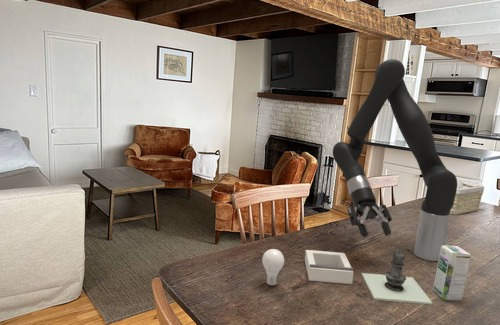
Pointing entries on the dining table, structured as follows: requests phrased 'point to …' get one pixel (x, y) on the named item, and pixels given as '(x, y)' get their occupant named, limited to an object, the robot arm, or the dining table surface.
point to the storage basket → (467, 197)
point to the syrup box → (451, 272)
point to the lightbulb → (272, 264)
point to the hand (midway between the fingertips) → (377, 235)
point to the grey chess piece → (396, 273)
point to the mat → (408, 295)
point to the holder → (328, 267)
